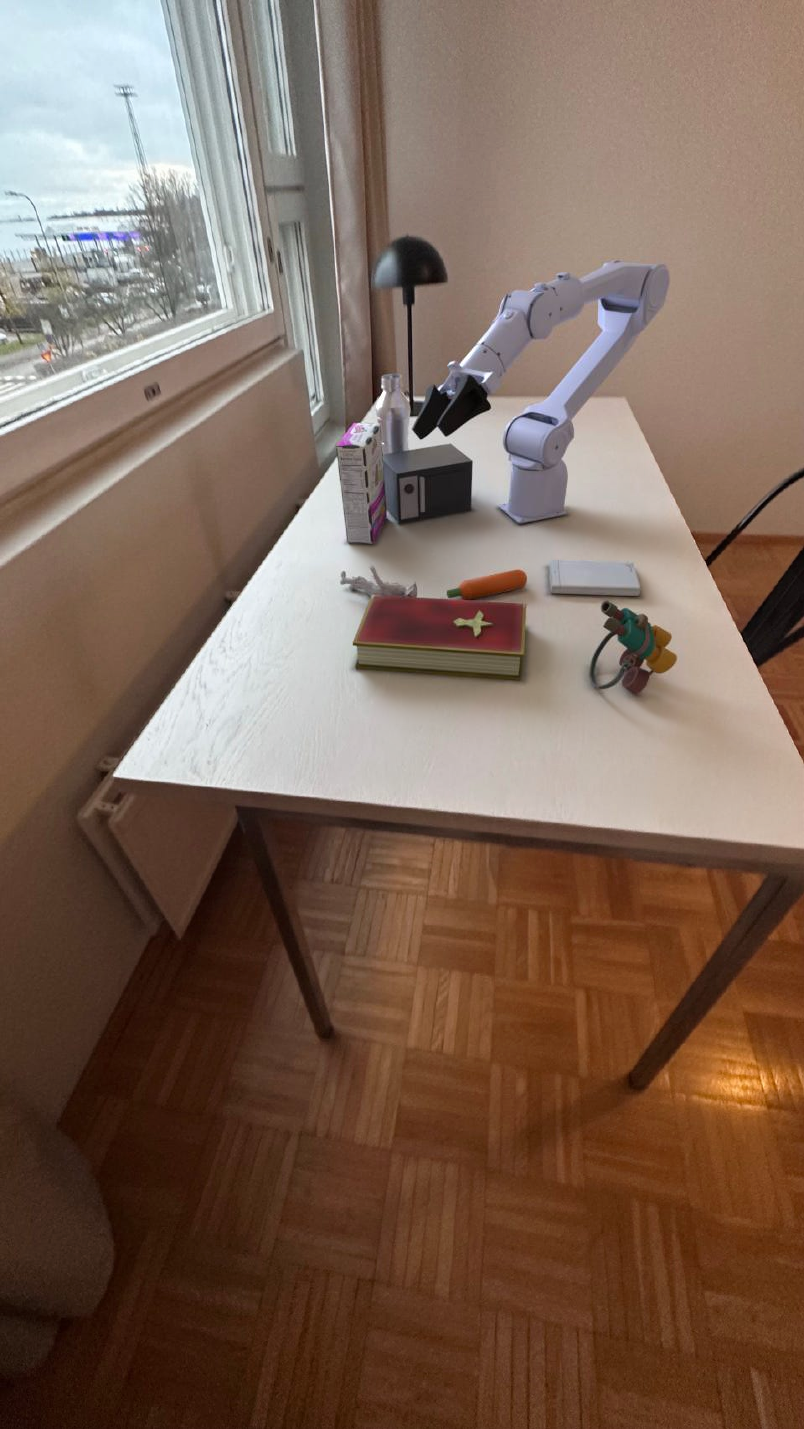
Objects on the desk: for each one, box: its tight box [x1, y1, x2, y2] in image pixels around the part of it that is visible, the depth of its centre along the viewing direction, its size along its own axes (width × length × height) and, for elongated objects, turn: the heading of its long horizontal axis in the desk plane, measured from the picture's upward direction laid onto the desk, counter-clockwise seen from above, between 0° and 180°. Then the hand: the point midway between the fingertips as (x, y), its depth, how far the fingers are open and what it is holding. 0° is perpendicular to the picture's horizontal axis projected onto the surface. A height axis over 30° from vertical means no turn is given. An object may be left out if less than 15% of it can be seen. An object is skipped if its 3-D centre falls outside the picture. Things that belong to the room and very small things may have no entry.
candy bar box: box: [335, 422, 388, 545], centre depth 106 cm, size 11×5×16 cm, turn 168°
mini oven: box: [383, 443, 474, 525], centre depth 114 cm, size 11×14×9 cm
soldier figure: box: [339, 564, 418, 598], centre depth 92 cm, size 8×5×12 cm
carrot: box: [446, 568, 528, 600], centre depth 92 cm, size 12×3×3 cm, turn 109°
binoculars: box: [589, 600, 678, 695], centre depth 74 cm, size 9×9×10 cm
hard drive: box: [548, 559, 641, 597], centre depth 94 cm, size 2×8×12 cm
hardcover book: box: [352, 595, 528, 681], centre depth 82 cm, size 12×21×4 cm, turn 80°
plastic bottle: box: [375, 373, 411, 454], centre depth 119 cm, size 6×7×20 cm
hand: (428, 432), depth 91 cm, fingers open, 7 cm apart
